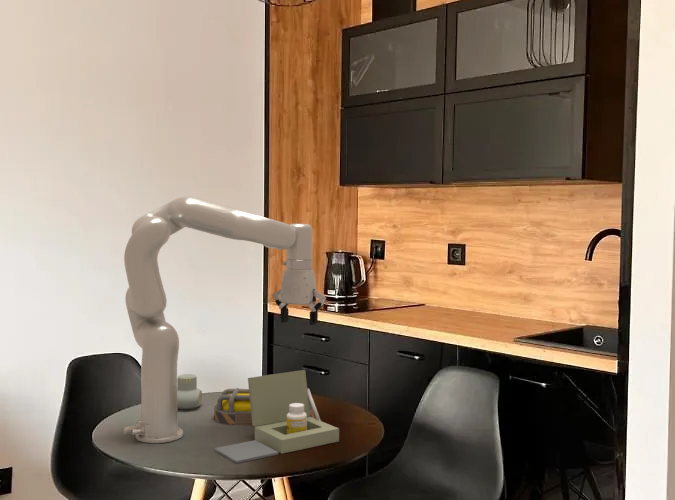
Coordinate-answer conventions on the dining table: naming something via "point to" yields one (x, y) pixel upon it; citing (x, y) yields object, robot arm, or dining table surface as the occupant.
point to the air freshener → (188, 392)
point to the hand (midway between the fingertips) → (298, 323)
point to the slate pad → (246, 451)
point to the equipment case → (285, 413)
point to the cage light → (238, 408)
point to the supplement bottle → (296, 418)
